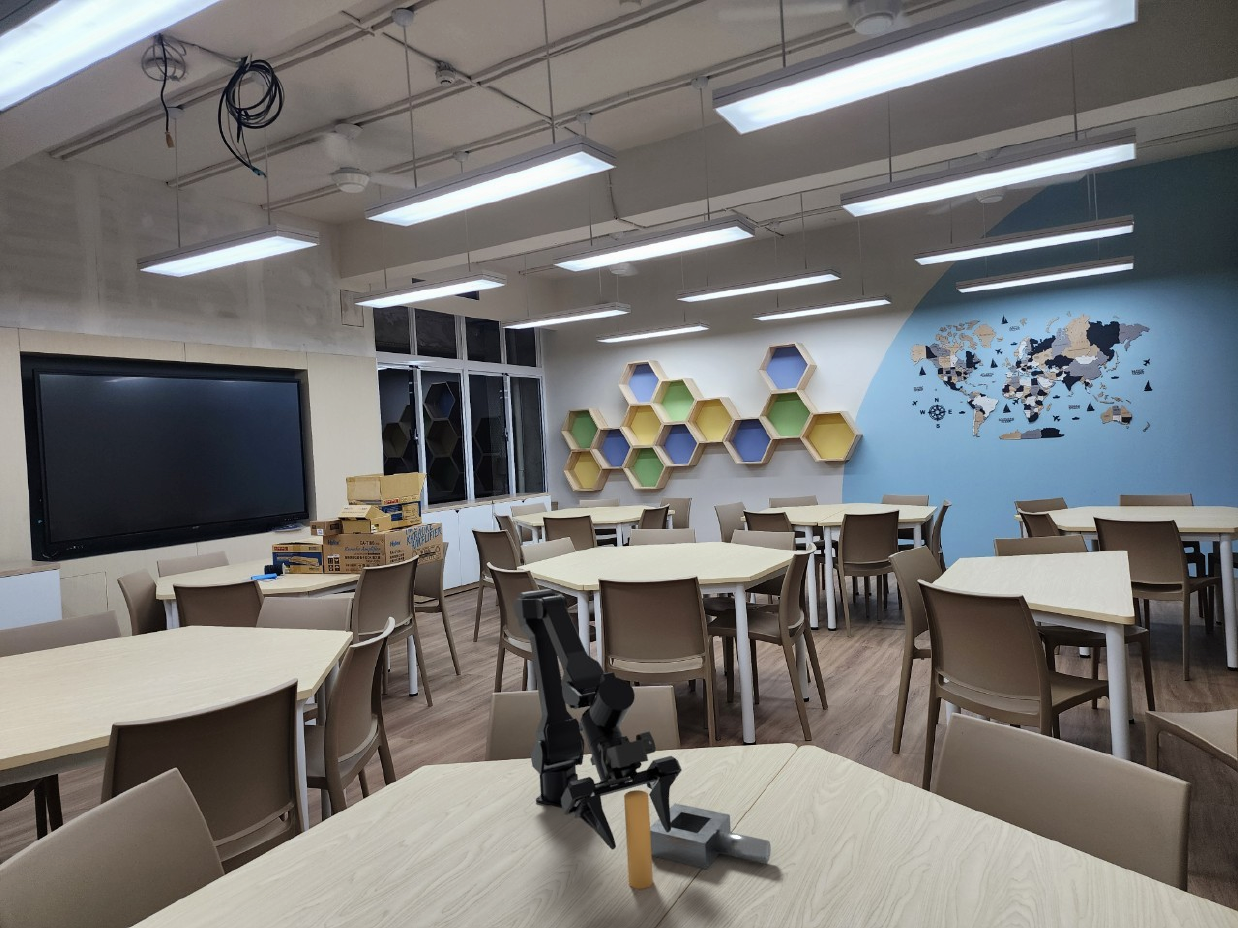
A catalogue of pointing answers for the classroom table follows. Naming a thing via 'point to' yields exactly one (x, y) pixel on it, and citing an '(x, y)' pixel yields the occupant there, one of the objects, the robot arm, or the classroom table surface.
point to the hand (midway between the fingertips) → (642, 839)
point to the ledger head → (703, 838)
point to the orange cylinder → (638, 839)
